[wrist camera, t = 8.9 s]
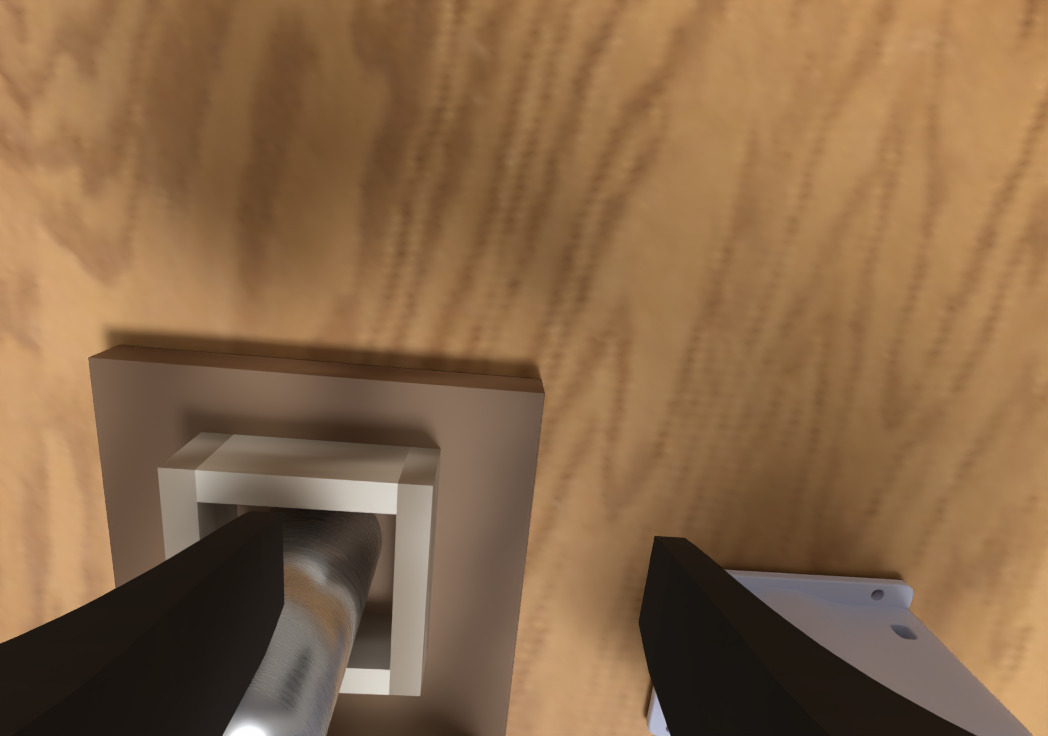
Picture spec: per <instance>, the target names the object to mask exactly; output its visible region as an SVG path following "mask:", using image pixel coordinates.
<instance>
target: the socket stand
mask: <svg viewBox="0 0 1048 736" xmlns="http://www.w3.org/2000/svg"><path fill="white" fill-rule="evenodd" d="M88 360H89V368H90V376H91V385H92V393H93V402H94V410H95V418H96V427H97V435H98V444H99V452H100V460H101V469H102V477H103V486H104V494H105V503H106V511H107V519H108V528H109V536H110V545H111V553H112V561H113V570H114V578H115V587H116V588H117V587H119V586H121V585H123V584H125V583H127V582H128V581H130V580H132V579H134V578H136V577H137V576H139V575H141V574H143V573H145V572H147V571H148V570H150V569H152V568H154V567H156V566H157V565H159V564H161V563H162V562H164V561H166V560H167V559H169V558H171V557H172V556H174V555H176V554H177V553H179V552H181V551H182V550H184V549H186V548H187V547H189V546H191V545H192V544H194V543H196V542H197V541H199V540H201V539H202V538H204V537H206V536H207V535H209V534H210V533H212V532H214V531H215V530H217V529H219V528H220V527H222V526H224V525H225V524H227V523H229V522H230V521H232V520H234V519H235V518H237V517H239V516H241V515H243V514H245V513H247V512H249V511H259V512H269V511H270V509H271V508H272V507H286V508H301V509H317V510H333V511H349V512H365V513H374V515H375V517H376V518H377V520H378V523H379V525H380V528H381V532H382V549H381V553H380V557H379V560H378V564H377V567H376V570H375V574H374V577H373V580H372V584H371V587H370V590H369V594H368V597H367V600H366V604H365V607H364V610H363V614H362V617H361V621H360V624H359V627H358V631H357V634H356V637H355V641H354V644H353V647H352V651H351V654H350V657H349V661H348V664H347V667H346V671H345V674H344V678H343V681H342V684H341V688H340V691H339V694H338V698H337V701H336V704H335V708H334V711H333V714H332V718H331V721H330V724H329V728H328V731H327V735H326V736H505V734H506V725H507V717H508V708H509V699H510V691H511V682H512V674H513V665H514V656H515V648H516V639H517V630H518V622H519V613H520V604H521V596H522V587H523V578H524V570H525V561H526V553H527V544H528V535H529V527H530V518H531V509H532V501H533V492H534V483H535V475H536V466H537V457H538V449H539V440H540V432H541V423H542V414H543V406H544V397H545V392H544V388H543V384H542V380H541V379H532V378H519V377H507V376H495V375H482V374H470V373H457V372H445V371H433V370H420V369H408V368H395V367H383V366H371V365H358V364H346V363H334V362H321V361H309V360H296V359H284V358H272V357H259V356H247V355H234V354H222V353H210V352H197V351H185V350H173V349H160V348H148V347H135V346H123V345H118V346H116V347H113V348H111V349H108V350H106V351H103V352H101V353H98V354H96V355H93V356H91V357H88Z"/></svg>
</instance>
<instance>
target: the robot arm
mask: <svg viewBox="0 0 1048 736" xmlns="http://www.w3.org/2000/svg"><path fill="white" fill-rule="evenodd" d="M875 590H877V591H876V592H875V593H873V591H875ZM872 593H873V594H872ZM913 594H914V591H913V589H912V588H911V587H910V586H909V585H908V584H907V583H906V582H905V581H902V580H894V579H877V578H860V577H843V576H825V575H808V574H791V573H774V572H757V571H740V570H724V569H723V568H722V567H721V566H719V565H718V564H717V563H716V562H715V561H713V560H712V559H711V558H710V557H709V556H707V555H706V554H705V553H704V552H703V551H701V550H700V549H699V548H698V547H696V546H695V545H694V544H692V543H691V542H690V541H688V540H687V539H686V538H678V537H662V536H655V537H654V542H653V548H652V553H651V559H650V564H649V569H648V575H647V580H646V585H645V591H644V596H643V601H642V607H641V612H640V618H639V627H640V632H641V637H642V642H643V647H644V652H645V657H646V661H647V666H648V670H649V674H650V677H651V680H652V683H653V690H652V695H651V700H650V705H649V710H648V715H647V726H648V730H649V731H650V733H651V734H653V735H656V736H1033V735H1032V734H1031V733H1030V732H1029V731H1028V730H1027V728H1026V727H1025V726H1024V725H1023V724H1022V723H1021V722H1020V721H1019V720H1018V719H1017V718H1016V717H1015V716H1014V715H1013V714H1012V713H1011V712H1010V711H1009V710H1008V709H1007V708H1006V707H1005V706H1004V705H1003V704H1002V703H1001V702H1000V701H999V700H998V699H997V698H996V697H995V696H994V695H993V694H992V693H991V692H990V691H989V690H988V689H987V688H986V687H985V686H984V685H983V684H982V683H981V682H980V681H979V680H978V679H977V678H976V677H975V676H974V675H973V674H972V673H971V672H970V671H969V670H968V669H967V668H966V667H965V666H964V665H963V664H962V663H961V662H960V661H959V660H958V659H957V658H956V657H955V656H954V655H953V653H952V652H951V651H950V650H949V649H948V648H947V647H946V646H945V645H944V644H943V643H942V642H941V641H940V640H939V639H938V638H937V637H936V636H935V635H934V634H933V633H932V632H931V631H930V630H929V629H928V628H927V627H926V626H925V625H924V624H923V623H922V622H921V621H920V620H919V619H918V618H917V617H916V616H915V615H914V614H913V613H912V612H911V611H910V610H909V607H910V604H911V601H912V598H913ZM283 607H284V558H283V513H275V512H259V511H249V512H247V513H245V514H243V515H241V516H239V517H237V518H235V519H234V520H232V521H230V522H229V523H227V524H225V525H224V526H222V527H220V528H219V529H217V530H215V531H214V532H212V533H210V534H209V535H207V536H206V537H204V538H202V539H201V540H199V541H197V542H196V543H194V544H192V545H191V546H189V547H187V548H186V549H184V550H182V551H181V552H179V553H177V554H176V555H174V556H172V557H171V558H169V559H167V560H166V561H164V562H162V563H161V564H159V565H157V566H156V567H154V568H152V569H150V570H148V571H147V572H145V573H143V574H141V575H139V576H137V577H136V578H134V579H132V580H130V581H128V582H127V583H125V584H123V585H121V586H119V587H117V588H116V589H114V590H112V591H110V592H108V593H107V594H105V595H103V596H101V597H99V598H97V599H95V600H93V601H91V602H89V603H88V604H86V605H84V606H82V607H80V608H78V609H75V610H73V611H71V612H69V613H67V614H65V615H63V616H61V617H59V618H57V619H55V620H52V621H50V622H48V623H46V624H44V625H42V626H39V627H37V628H35V629H33V630H31V631H28V632H26V633H24V634H22V635H20V636H17V637H15V638H13V639H10V640H8V641H6V642H3V643H1V644H0V736H223V734H224V732H225V730H226V728H227V726H228V724H229V723H230V721H231V719H232V717H233V715H234V713H235V711H236V710H237V708H238V706H239V704H240V702H241V700H242V698H243V696H244V695H245V693H246V691H247V689H248V687H249V685H250V683H251V681H252V679H253V677H254V676H255V674H256V672H257V670H258V668H259V666H260V664H261V662H262V660H263V658H264V656H265V654H266V652H267V649H268V647H269V644H270V641H271V639H272V636H273V634H274V631H275V629H276V626H277V623H278V620H279V618H280V615H281V612H282V610H283Z"/></svg>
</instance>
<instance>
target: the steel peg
mask: <svg viewBox="0 0 1048 736" xmlns="http://www.w3.org/2000/svg"><path fill="white" fill-rule="evenodd" d="M269 512H275V513H283V558H284V607H283V610H282V612H281V615H280V618H279V620H278V623H277V626H276V629H275V631H274V634H273V636H272V639H271V641H270V644H269V647H268V649H267V652H266V654H265V656H264V658H263V660H262V662H261V664H260V666H259V668H258V670H257V672H256V674H255V676H254V677H253V679H252V681H251V683H250V685H249V687H248V689H247V691H246V693H245V695H244V696H243V698H242V700H241V702H240V704H239V706H238V708H237V710H236V711H235V713H234V715H233V717H232V719H231V721H230V723H229V724H228V726H227V728H226V730H225V732H224V734H223V736H326V735H327V731H328V728H329V724H330V721H331V718H332V714H333V711H334V708H335V704H336V701H337V698H338V694H339V691H340V688H341V684H342V681H343V678H344V674H345V671H346V667H347V664H348V661H349V657H350V654H351V651H352V647H353V644H354V641H355V637H356V634H357V631H358V627H359V624H360V621H361V617H362V614H363V610H364V607H365V604H366V600H367V597H368V594H369V590H370V587H371V584H372V580H373V577H374V574H375V570H376V567H377V564H378V560H379V557H380V553H381V549H382V532H381V528H380V525H379V523H378V520H377V518H376V517H375V515H374V513H365V512H349V511H333V510H317V509H301V508H286V507H272V508H271V509H270V511H269Z"/></svg>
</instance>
